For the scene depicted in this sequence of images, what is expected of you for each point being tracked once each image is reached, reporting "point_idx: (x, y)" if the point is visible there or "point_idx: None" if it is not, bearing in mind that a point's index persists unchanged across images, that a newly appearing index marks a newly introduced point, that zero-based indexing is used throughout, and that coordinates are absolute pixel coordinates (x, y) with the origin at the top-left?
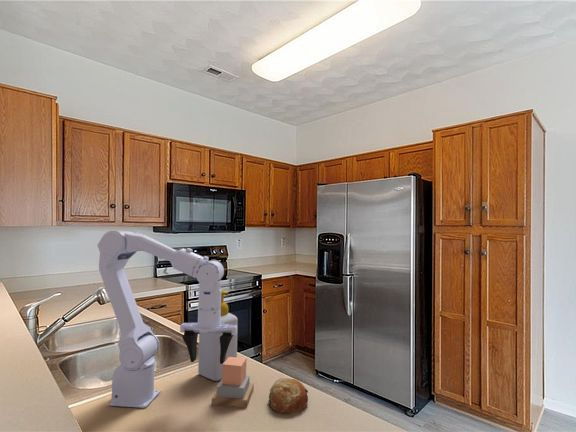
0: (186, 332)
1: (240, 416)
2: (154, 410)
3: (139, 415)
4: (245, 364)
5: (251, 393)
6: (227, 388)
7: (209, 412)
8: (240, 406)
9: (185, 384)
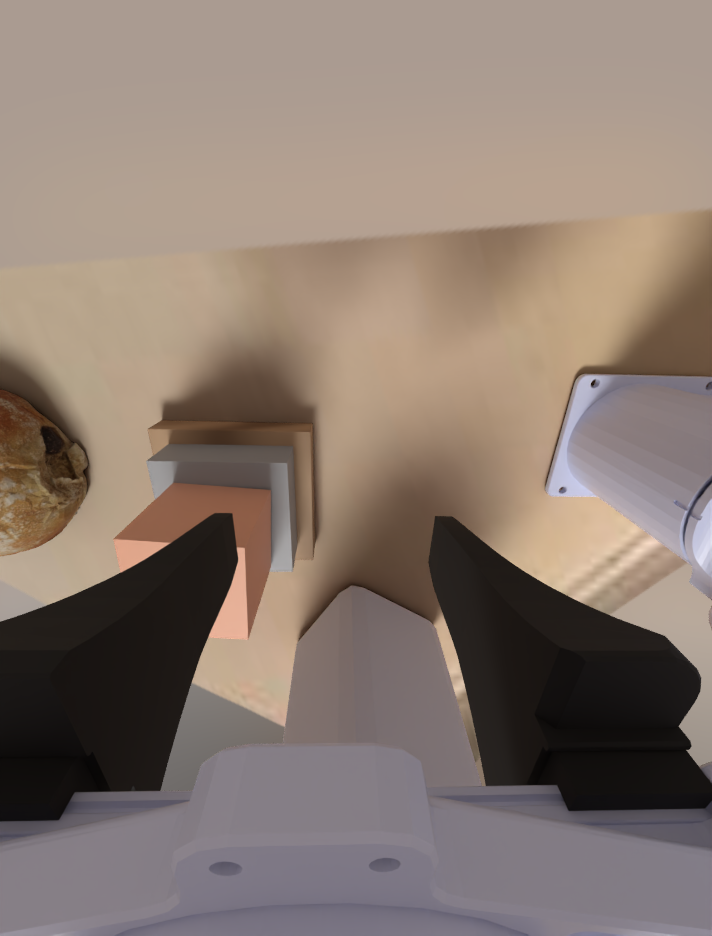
0: (665, 765)
1: (159, 348)
2: (534, 364)
3: (587, 320)
4: None
5: None
6: (233, 460)
7: (302, 369)
8: (188, 421)
9: None
